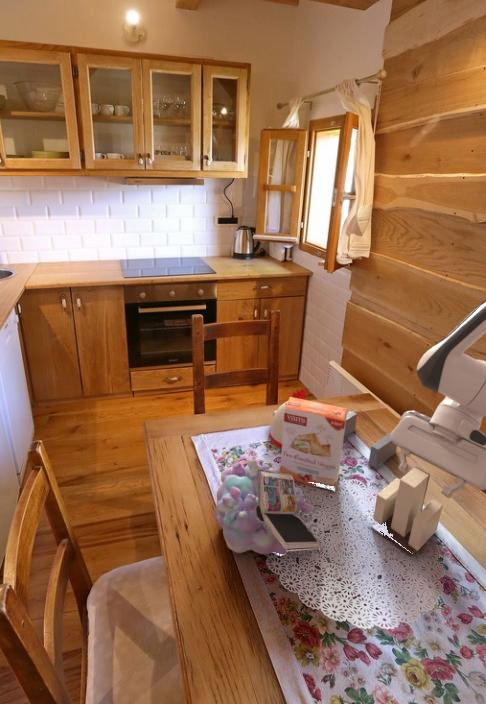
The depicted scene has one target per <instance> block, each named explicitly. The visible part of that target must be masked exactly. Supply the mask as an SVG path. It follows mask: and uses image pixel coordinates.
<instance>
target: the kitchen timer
mask: <svg viewBox="0 0 486 704" xmlns="http://www.w3.org/2000/svg"><path fill="white" fill-rule="evenodd" d="M307 393H308V392H307V391H306V390H304V388H301V389H300V390H296V392H295V391H293V392H292V397H293V398H298V399H303V400H306V397H307ZM287 402H288V400H287V401H285V402H284V403H282V404H281V405H280V406H279V407H278V408H277V410H273V412H272V419H271V421H270V425H269V433H268V435H269V439H270V442H271V443H272V444H273V445H274V446H276V447H277V448H279V449H281V450H282V439H283V425H284V413H285V407H286V405H287Z"/></svg>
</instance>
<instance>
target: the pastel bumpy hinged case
mask: <svg viewBox="0 0 486 704" xmlns="http://www.w3.org/2000/svg"><path fill="white" fill-rule="evenodd" d="M263 462H264V461H263V460H262V459H256V456H255V455H251V456H249V457H248V459H247V460H246V465H245V466H244V465H243V464H242V463H241V462H240V461H237V462H235V463H234V464H233V467H227V468H225V469H224V470H223V471H222V472H221V475H220V482H221V484H220V485H219V487H218V488H217V491H216V505H215V507H214V518H215V521H216V523H217V525H218V526H219V528H220V529H221V530H222V534H223V535H222V536H223V539H224V541H225V543H226V546H227V548H228V549H229V550H231V551H232V552H234V553H236V554H242V553H246V552H248V551H253V552H255V553H256V554H259V555H269V554H272V553H271V552H276V553H279V554H285V553H287V552H288V553H293V552H307V551H319V549H320V550H321V547H320V546H319V541H318V539H317V538H316V537H315V536H314V534H313V533H312V532H311V530H310V529H309V528H308V527H307V525H306V524H305V520H304V519H303V518H302V517H301V516H300V515H299V513H300V512H302V513H303V514H304V515H306V516H309V515H310V514H311V513H312V511H313V505H312V504H311V503H309V502H307V501H306V500H305V498H304V497H305V495H304V493H303V491H302V489H301V487H300V486H297V487H296V486H295V481H294V479H293V477H292V475H290V474H284V473H280V471H277V470H276V469H275V468H273V467H270V466H269V465H268V464H266V463H263ZM268 553H269V554H268ZM288 553H287V554H288Z"/></svg>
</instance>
